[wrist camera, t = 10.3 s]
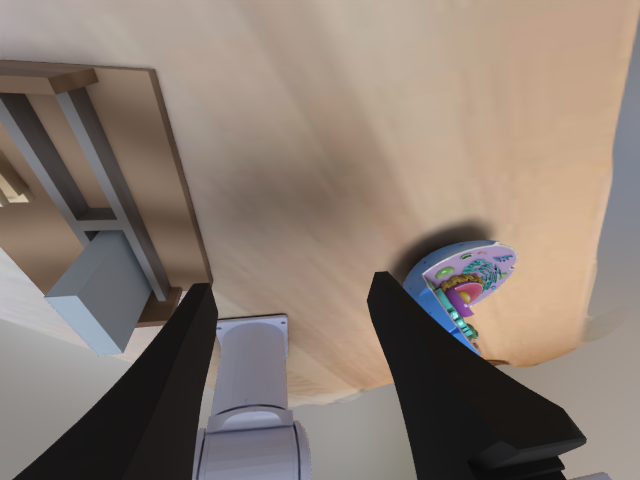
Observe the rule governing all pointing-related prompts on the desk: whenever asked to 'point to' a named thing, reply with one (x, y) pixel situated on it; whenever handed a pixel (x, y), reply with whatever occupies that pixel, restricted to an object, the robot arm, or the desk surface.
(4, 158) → the offcut stack
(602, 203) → the desk surface
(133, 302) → the slate board
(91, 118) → the board with sliding block
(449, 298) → the cell model
